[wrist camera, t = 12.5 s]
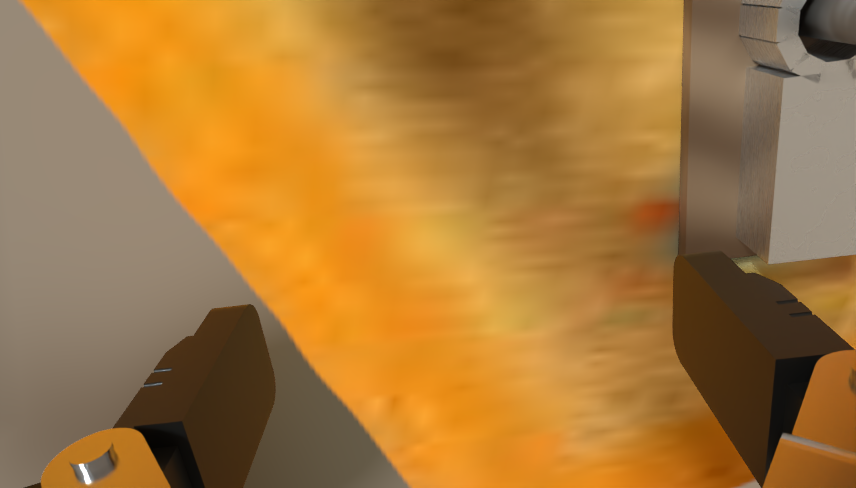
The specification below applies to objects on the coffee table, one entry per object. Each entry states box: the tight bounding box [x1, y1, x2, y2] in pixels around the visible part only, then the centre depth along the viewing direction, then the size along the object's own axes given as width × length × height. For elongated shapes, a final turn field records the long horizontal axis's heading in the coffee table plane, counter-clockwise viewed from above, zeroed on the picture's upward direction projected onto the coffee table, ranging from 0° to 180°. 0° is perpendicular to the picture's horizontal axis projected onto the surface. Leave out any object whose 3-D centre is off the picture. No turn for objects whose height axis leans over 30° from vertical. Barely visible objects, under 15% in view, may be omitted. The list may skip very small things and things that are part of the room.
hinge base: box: [678, 0, 856, 258], centre depth 29 cm, size 28×11×11 cm, turn 8°
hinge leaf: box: [736, 0, 856, 264], centre depth 33 cm, size 16×6×4 cm, turn 7°
